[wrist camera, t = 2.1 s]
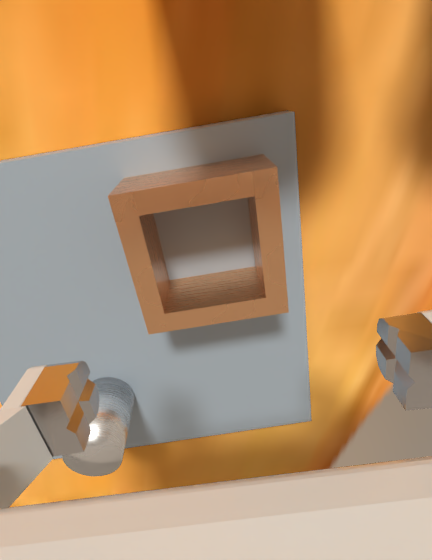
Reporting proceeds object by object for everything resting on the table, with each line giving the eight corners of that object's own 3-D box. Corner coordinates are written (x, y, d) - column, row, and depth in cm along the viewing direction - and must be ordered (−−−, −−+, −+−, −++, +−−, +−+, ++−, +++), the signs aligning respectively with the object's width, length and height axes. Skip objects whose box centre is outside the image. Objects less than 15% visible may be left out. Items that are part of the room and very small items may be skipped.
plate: (42, 443, 28) (34, 461, 26) (-103, 178, 19) (-126, 185, 17) (305, 404, 27) (311, 420, 26) (287, 110, 18) (294, 111, 17)
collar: (155, 298, 21) (148, 334, 18) (123, 178, 18) (107, 195, 15) (275, 279, 21) (288, 312, 17) (263, 154, 17) (277, 166, 14)
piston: (93, 417, 25) (73, 479, 21) (78, 381, 23) (53, 441, 19) (140, 410, 25) (129, 471, 21) (127, 373, 23) (112, 432, 19)
